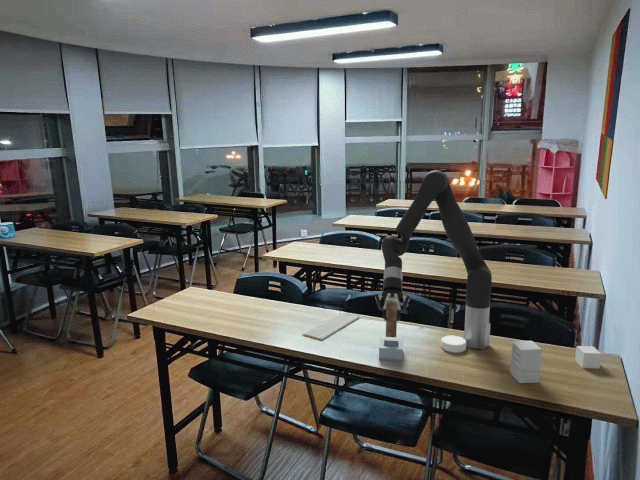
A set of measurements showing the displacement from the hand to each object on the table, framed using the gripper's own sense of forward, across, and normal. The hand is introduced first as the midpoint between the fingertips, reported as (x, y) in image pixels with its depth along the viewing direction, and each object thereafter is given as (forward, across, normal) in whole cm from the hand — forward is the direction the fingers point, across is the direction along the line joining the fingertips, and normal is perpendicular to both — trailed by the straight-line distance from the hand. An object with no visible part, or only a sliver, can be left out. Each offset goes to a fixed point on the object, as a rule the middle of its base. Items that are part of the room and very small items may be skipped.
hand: (391, 320), depth 176 cm
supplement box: (+17, +47, +4) cm, 50 cm away
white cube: (+7, +72, +14) cm, 74 cm away
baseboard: (-8, -28, +32) cm, 43 cm away
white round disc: (+2, +25, +20) cm, 32 cm away
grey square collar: (+10, 0, +12) cm, 16 cm away
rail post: (+4, 0, +6) cm, 7 cm away
